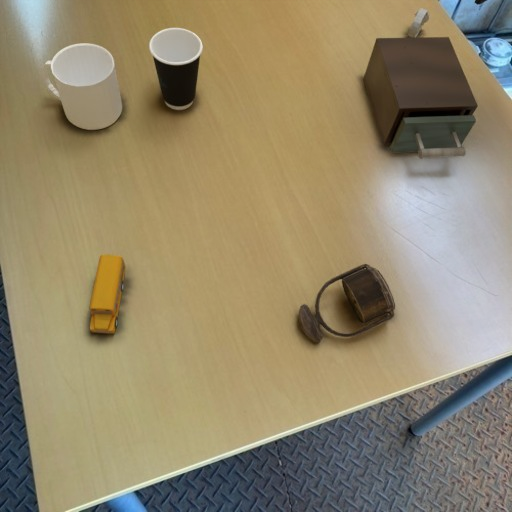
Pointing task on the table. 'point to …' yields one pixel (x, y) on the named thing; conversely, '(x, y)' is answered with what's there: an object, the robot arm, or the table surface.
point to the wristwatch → (418, 22)
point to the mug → (85, 85)
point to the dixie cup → (176, 65)
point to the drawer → (432, 133)
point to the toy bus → (107, 294)
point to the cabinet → (414, 80)
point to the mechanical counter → (354, 301)
